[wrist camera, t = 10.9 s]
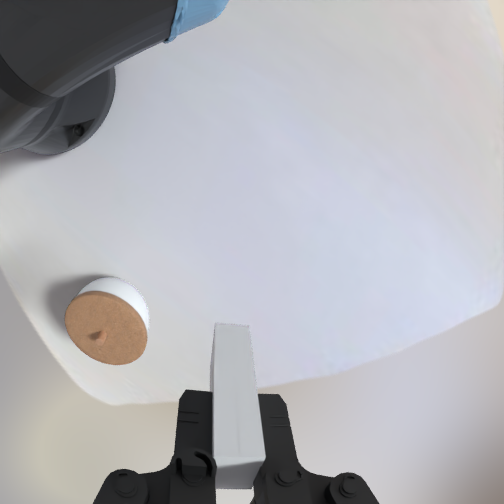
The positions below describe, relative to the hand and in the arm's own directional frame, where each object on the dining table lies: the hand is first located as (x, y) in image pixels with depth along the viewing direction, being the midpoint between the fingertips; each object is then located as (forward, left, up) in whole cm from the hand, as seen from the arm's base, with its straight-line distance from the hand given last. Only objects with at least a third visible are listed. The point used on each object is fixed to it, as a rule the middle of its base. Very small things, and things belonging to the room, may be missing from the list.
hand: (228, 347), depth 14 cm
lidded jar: (-13, -15, -25) cm, 32 cm away
